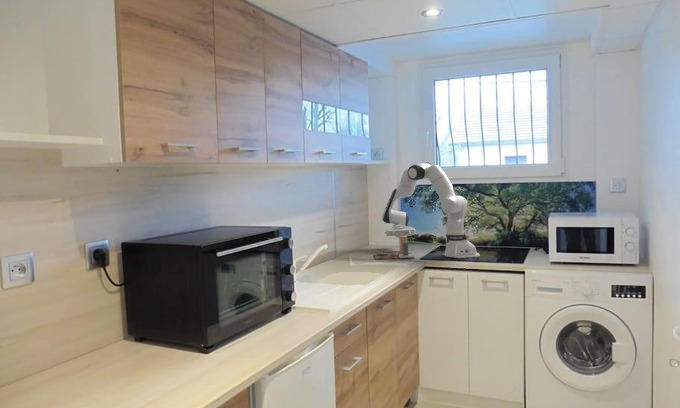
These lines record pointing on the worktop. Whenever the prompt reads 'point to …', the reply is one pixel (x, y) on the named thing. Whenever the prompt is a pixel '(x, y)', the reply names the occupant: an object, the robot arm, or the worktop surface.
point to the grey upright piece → (405, 251)
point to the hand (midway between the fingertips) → (401, 233)
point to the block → (403, 239)
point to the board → (390, 256)
